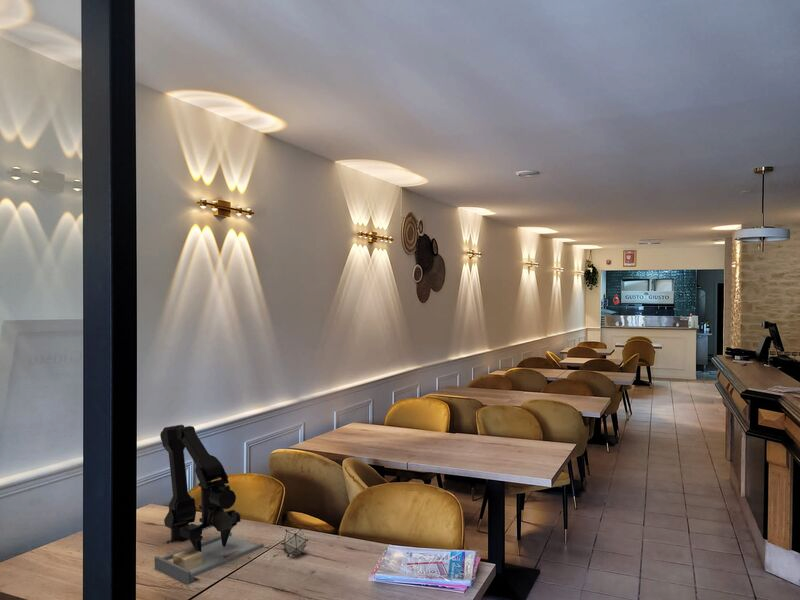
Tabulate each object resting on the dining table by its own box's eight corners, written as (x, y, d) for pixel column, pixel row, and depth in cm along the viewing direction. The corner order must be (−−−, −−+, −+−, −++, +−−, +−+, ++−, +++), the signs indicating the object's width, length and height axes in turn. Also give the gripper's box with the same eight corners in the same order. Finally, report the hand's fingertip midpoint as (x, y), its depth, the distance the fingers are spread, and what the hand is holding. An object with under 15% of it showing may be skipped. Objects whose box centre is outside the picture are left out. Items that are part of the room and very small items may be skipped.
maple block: (173, 566, 180) (173, 555, 179) (190, 558, 184) (190, 547, 184) (185, 571, 176) (184, 559, 176) (202, 563, 181) (201, 552, 181)
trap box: (154, 568, 182) (154, 557, 182) (230, 539, 203) (229, 528, 203) (187, 584, 171) (187, 572, 171) (263, 551, 192) (263, 540, 192)
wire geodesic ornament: (298, 567, 188) (301, 550, 182) (274, 556, 190) (276, 538, 184) (311, 544, 195) (314, 527, 190) (288, 534, 197) (290, 516, 191)
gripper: (199, 515, 175) (201, 568, 175) (250, 498, 190) (252, 547, 190) (178, 508, 182) (180, 559, 182) (229, 492, 197) (230, 539, 197)
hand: (212, 551), depth 187 cm, fingers open, 9 cm apart
